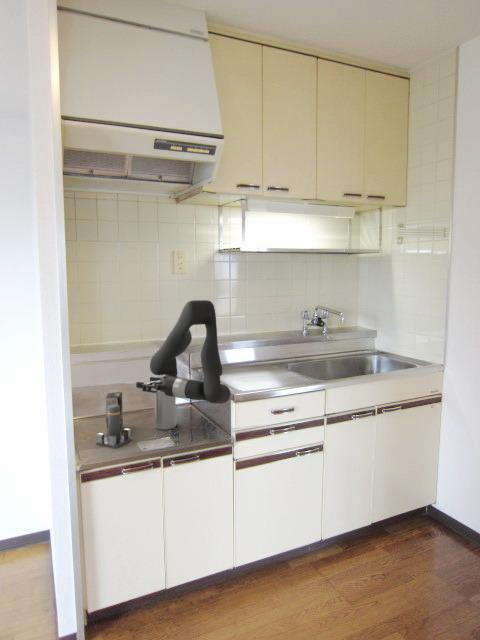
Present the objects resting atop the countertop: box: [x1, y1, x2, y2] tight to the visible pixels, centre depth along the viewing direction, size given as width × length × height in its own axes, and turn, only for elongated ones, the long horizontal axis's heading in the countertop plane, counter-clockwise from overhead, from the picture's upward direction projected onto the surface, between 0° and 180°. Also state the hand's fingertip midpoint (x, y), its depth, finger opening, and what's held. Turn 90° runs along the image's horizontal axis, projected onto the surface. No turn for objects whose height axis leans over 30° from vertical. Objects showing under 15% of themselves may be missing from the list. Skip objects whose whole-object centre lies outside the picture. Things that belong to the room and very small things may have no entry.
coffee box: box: [105, 391, 124, 435], centre depth 199 cm, size 9×6×16 cm
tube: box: [107, 405, 121, 442], centre depth 185 cm, size 5×5×14 cm
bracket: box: [95, 428, 133, 449], centre depth 186 cm, size 10×10×4 cm
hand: (143, 381), depth 177 cm, fingers open, 8 cm apart
